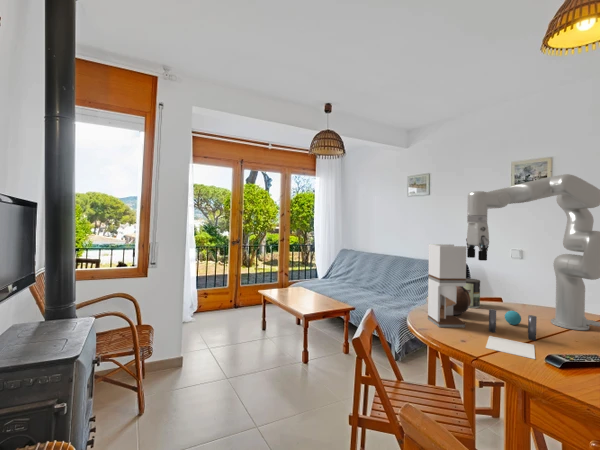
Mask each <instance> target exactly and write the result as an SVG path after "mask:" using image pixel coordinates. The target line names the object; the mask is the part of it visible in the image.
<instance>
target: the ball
mask: <svg viewBox="0 0 600 450" xmlns="http://www.w3.org/2000/svg"><path fill="white" fill-rule="evenodd" d="M504 319H505V321H506V322H507V323H508V324H509V325H515V326H516V325H518V324H520V323H521V322H522V316H521V314H520V313H518V312H517V311H515V310H508V311H506V313H504Z"/></svg>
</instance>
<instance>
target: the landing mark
mask: <svg viewBox="0 0 600 450" xmlns="http://www.w3.org/2000/svg"><path fill="white" fill-rule="evenodd" d="M485 349H488V350H492V351H496V352H502V353H506V354H510V355H514V356H518V357H524V358H528V359H532V360H536V354H535V353H536V351H535V344H530V343H526V342H521V341H516V340H512V339H507V338H503V337H497V336H492V335H489V336H488V338H487V342H486V344H485Z"/></svg>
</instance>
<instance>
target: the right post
mask: <svg viewBox="0 0 600 450" xmlns="http://www.w3.org/2000/svg"><path fill="white" fill-rule="evenodd" d="M527 318H528V321H527V323H528V325H527V326H528V327H527V339H528V340H530V341H537V322H538V321H537V320H538V319H537V316H535V315H533V314H531V315H530V314H528V316H527Z"/></svg>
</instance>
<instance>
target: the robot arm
mask: <svg viewBox="0 0 600 450" xmlns="http://www.w3.org/2000/svg"><path fill="white" fill-rule="evenodd" d="M554 196H555V197H556V203H557V205H558V206H559V207H560V208H561V210H563V212H564V214H565V216H566V226H565V230H564V234H563V239H562V246H563V247H564V248H565V249H566V250H567V251H570V252H576V253H583V254H582V255H581V254H573V253H563V254H562V253H561V254H559V255H557V256H556V257H555V258H554V260H553V270H554V275H555V317H554V318H551V319H550V323H551V324H553V325H554V326H557V327H561V328H563V329H568V330H574V331H590V326H593V327H600V321H595V320H592V319H587V317H586V316H585V312H586V311H585V310H586V309H585V307H586V285H585V282H584V280H585V279H586V280H591V281H592V280H593V281H594V280H599V279H600V230H593V228H594V216H593V214H592V212H591V211H590V210H589V209H594V208H598V207H600V189H599V188H598V187H597V186H595V185H593V184H591V183H590V182H588V181H586V180H584V179H583V178H581V177H578V176H576V175H575V174H570V173H565V174H560V175H553V176H547V177H544V178H540V179H536V180H535V179H534V180H531V181H527V182H522V183H518V184H514V185H510V186H506V187H504V188H500V189H495V190H491V191H482V190H477V191H476V190H475V191H471V192H469V193H468V194H467V216H466V217H467V221H466V222H467V224H468V225H467V232H466V239H465V240H466V258H472V259H473V258H474V259H475V258H476V247H478V259H477V260H478V261H487V260H488V249H489V246H490V234H489V225H488V210H490V209H502V208H505V207H507V206H508V205H512V204H513V205H514V204H521V203H522V204H524V203H529V202H534V201H537V200H541V199H546V198H551V197H554ZM583 279H584V280H583Z"/></svg>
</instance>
